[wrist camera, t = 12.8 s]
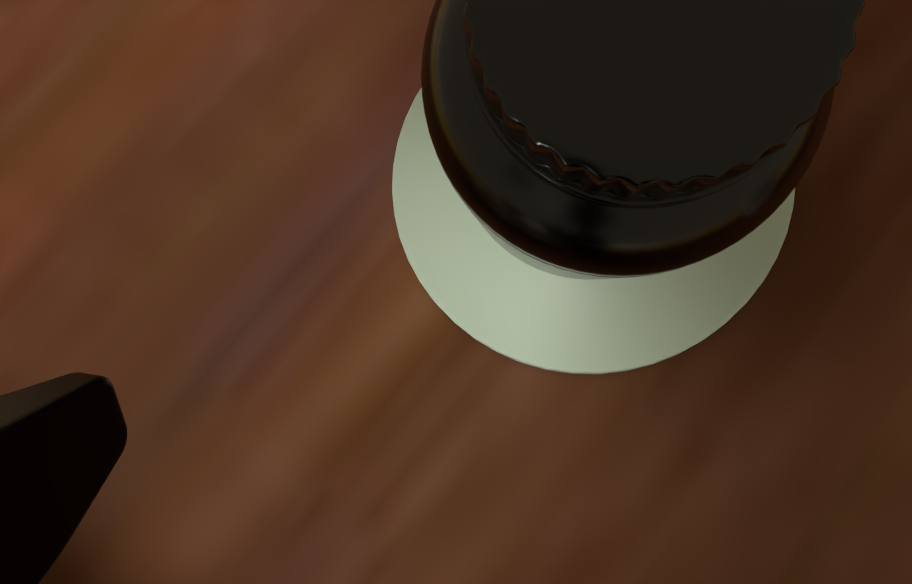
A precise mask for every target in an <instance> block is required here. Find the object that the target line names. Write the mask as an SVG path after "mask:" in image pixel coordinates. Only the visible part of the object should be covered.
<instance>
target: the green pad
mask: <svg viewBox="0 0 912 584" xmlns="http://www.w3.org/2000/svg"><path fill="white" fill-rule="evenodd" d="M392 194H393V205H394V215H395V219H396V224H397V228H398V232H399V237H400V240H401V242H402V245H403V248H404V250H405V253H406V256H407V258H408V261H409V263H410V264H411V266H412V268H413V270H414V272H415V274H416V276H417V277H418V279H419V281H420V283H421V284H422V285H423V287H424V288H425V289H426V291H427V292H428V294H429V295H430V296H431V298H432V299H433V300H434V302H435V303H436V304H437V305H438V306H439V307H440V308H441V309H442V310H443V311H444V312H445V313H446V314H447V315H448V316H449V317H450V318H451V320H453V321H454V322H455V323H456V324H457V325H458V326H459V327H461V328H462V329H463V330H464V331H466V332H467V333H468V334H469V335H471V336H472V337H473V338H474V339H476V340H477V341H479V342H480V343H482V344H484V345H486V346H487V347H489V348H491V349H492V350H494V351H496V352H497V353H499V354H502V355H504V356H506V357H509V358H511V359H513V360H516V361H518V362H520V363H523V364H527V365H530V366H534V367H537V368H541V369H544V370H549V371H556V372H563V373H570V374H607V373H616V372H625V371H629V370H633V369H637V368H641V367H645V366H650V365H653V364H656V363H658V362H661V361H663V360H666V359H668V358H671V357H673V356H676V355H678V354H680V353H682V352H684V351H685V350H687V349H689V348H691V347H693V346H694V345H696V344H698V343H700V342H701V341H703V340H704V339H705V338H707V337H708V336H710V335H711V334H712V333H714V332H715V331H716V330H718V329H719V328H720V327H722V326H723V325H724V324H725V323H726V322H727V321H729V320H730V319H731V318H732V317H733V316H734V315H735V314H736V313H737V312H738V311H739V310H740V309H741V308H742V307H743V306H744V305H745V304H746V303H747V302H748V301H749V299H750V298H751V297H752V295H753V294H754V293H755V292H756V290H757V289H758V288H759V286H760V285H761V284H762V283H763V281H764V280H765V278H766V276H767V275H768V273H769V271H770V269H771V268H772V266H773V264H774V262H775V261H776V259H777V257H778V254H779V252H780V249H781V247H782V244H783V242H784V239H785V237H786V234H787V231H788V227H789V223H790V219H791V215H792V211H793V206H794V195H795V188H794V190H793V191H792V192H791V193H790V195H789V196H788V197H787V199H786V200H785V201H784V202H783V203H782V204H781V205H780V206H779V207H778V209H777V210H776V211H775V212H774V213H773V214H772V215H771V216H770V217H769V218H768V219H766V220H765V221H764V222H763V223H762V224H761V225H760V226H758V227H757V228H756V229H755V230H754V231H752V232H751V233H749V234H748V235H747V236H745V237H744V238H742V239H741V240H740V241H738V242H737V243H735V244H733V245H731V246H730V247H728V248H726V249H725V250H723V251H721V252H719V253H717V254H715V255H713V256H711V257H708V258H706V259H704V260H702V261H700V262H697V263H694V264H691V265H688V266H686V267H683V268H680V269H677V270H673V271H668V272H664V273H660V274H655V275H648V276H641V277H630V278H614V279H596V280H585V279H573V278H567V277H561V276H557V275H553V274H550V273H547V272H544V271H541V270H539V269H536V268H534V267H532V266H530V265H528V264H526V263H524V262H523V261H521V260H519V259H518V258H516V257H514V256H513V255H512V254H510V253H509V252H508V251H506V250H505V249H504V248H503V247H501V246H500V245H499V244H498V243H497V242H496V241H495V240H494V239H493V238H492V237H491V236H490V235H489V234H488V232H487V231H486V230H485V229H484V228H483V226H482V225H481V224H480V223H479V221H478V220H477V219H476V218H475V216H474V215H473V214H472V213H471V211H470V210H469V209H468V207H467V206H466V205H465V203H464V202H463V201H462V199H461V198H460V197H459V195H458V194H457V192H456V191H455V189H454V188H453V186H452V184H451V183H450V181H449V179H448V178H447V176H446V174H445V172H444V170H443V168H442V166H441V164H440V162H439V159H438V157H437V155H436V152H435V149H434V146H433V143H432V140H431V137H430V134H429V130H428V126H427V122H426V118H425V113H424V106H423V99H422V87H421V89H420V91H419V92H418V94H417V95H416V97H415V99H414V101H413V103H412V105H411V107H410V110H409V112H408V114H407V116H406V118H405V121H404V124H403V127H402V130H401V133H400V136H399V139H398V143H397V148H396V154H395V159H394V165H393V182H392Z"/></svg>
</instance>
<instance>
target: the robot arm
mask: <svg viewBox="0 0 912 584" xmlns="http://www.w3.org/2000/svg"><path fill="white" fill-rule="evenodd" d="M126 440H127V426H126V423H125V420H124V417H123V414H122V411H121V408H120V405H119V402H118V399H117V396H116V393H115V390H114V387H113V385H112V383H111V382H110V381H109V380H108V378H105V377H103V376H99V375H92V374H85V373H71V374H67V375H64V376H61V377H58V378H55V379H51V380H48V381H45V382H42V383H39V384H36V385H33V386H30V387H27V388H24V389H21V390H17V391H14V392H11V393H8V394H5V395H2V396H0V584H38V583H39V582H40V581H41V579H42V578H43V577H44V575H45V574H46V573H47V571H48V570H49V569H50V567H51V566H52V564H53V563H54V562H55V560H56V559H57V558H58V556H59V555H60V553H61V552H62V550H63V549H64V547H65V546H66V544H67V543H68V541H69V539H70V538H71V536H72V535H73V533H74V532H75V530H76V528H77V527H78V525H79V523H80V522H81V520H82V518H83V517H84V515H85V514H86V512H87V510H88V509H89V507H90V505H91V504H92V502H93V500H94V499H95V497H96V495H97V494H98V492H99V490H100V489H101V487H102V485H103V484H104V482H105V481H106V479H107V477H108V476H109V474H110V472H111V471H112V469H113V467H114V466H115V464H116V462H117V461H118V459H119V457H120V456H121V454H122V452H123V450H124V447H125V444H126Z"/></svg>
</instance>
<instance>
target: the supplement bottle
mask: <svg viewBox="0 0 912 584" xmlns="http://www.w3.org/2000/svg"><path fill="white" fill-rule="evenodd" d="M864 6H865V4H864V0H436V2H435V5H434V7H433V10H432V13H431V16H430V19H429V23H428V27H427V31H426V35H425V41H424V47H423V54H422V68H421V85H422V99H423V106H424V113H425V118H426V122H427V126H428V130H429V134H430V137H431V140H432V143H433V146H434V149H435V152H436V155H437V157H438V159H439V162H440V164H441V166H442V168H443V170H444V172H445V174H446V176H447V178H448V179H449V181H450V183H451V184H452V186H453V188H454V189H455V191H456V192H457V194H458V195H459V197H460V198H461V199H462V201H463V202H464V203H465V205H466V206H467V207H468V209H469V210H470V211H471V213H472V214H473V215H474V216H475V218H476V219H477V220H478V221H479V223H480V224H481V225H482V226H483V228H484V229H485V230H486V231H487V232H488V234H489V235H490V236H491V237H492V238H493V239H494V240H495V241H496V242H497V243H498V244H499V245H500V246H501V247H503V248H504V249H505V250H506V251H508V252H509V253H510V254H512V255H513V256H514V257H516V258H518V259H519V260H521V261H523V262H524V263H526V264H528V265H530V266H532V267H534V268H536V269H539V270H541V271H544V272H547V273H550V274H553V275H557V276H561V277H567V278H573V279H585V280H596V279H614V278H630V277H641V276H648V275H655V274H660V273H664V272H668V271H673V270H677V269H680V268H683V267H686V266H688V265H691V264H694V263H697V262H700V261H702V260H704V259H706V258H708V257H711V256H713V255H715V254H717V253H719V252H721V251H723V250H725V249H726V248H728V247H730V246H731V245H733V244H735V243H737V242H738V241H740V240H741V239H742V238H744V237H745V236H747V235H748V234H749V233H751V232H752V231H754V230H755V229H756V228H757V227H758V226H760V225H761V224H762V223H763V222H764V221H765V220H766V219H768V218H769V217H770V216H771V215H772V214H773V213H774V212H775V211H776V210H777V209H778V207H779V206H780V205H781V204H782V203H783V202H784V201H785V200H786V199H787V197H788V196H789V195H790V193H791V192H792V191H793V190H794V188H795V187H796V186H797V184H798V183H799V181H800V180H801V178H802V176H803V175H804V173H805V172H806V170H807V168H808V167H809V165H810V163H811V161H812V159H813V157H814V155H815V153H816V151H817V149H818V147H819V144H820V142H821V139H822V136H823V134H824V131H825V128H826V125H827V122H828V118H829V114H830V110H831V106H832V100H833V94H834V88H835V87H836V86H837V85H838V83H839V80H840V75H841V70H842V60H844V59H845V58H846V57H847V56H848V55H849V53H850V52H851V51H852V50H853V48H854V47H855V45H856V32H855V22H856V21H857V19H858V18H859V16H860V15H861V12H862V10H863V8H864Z"/></svg>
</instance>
